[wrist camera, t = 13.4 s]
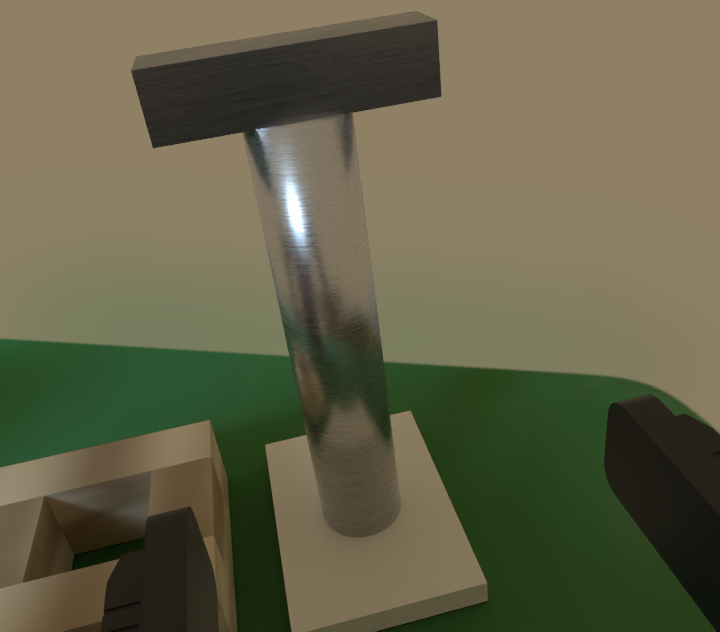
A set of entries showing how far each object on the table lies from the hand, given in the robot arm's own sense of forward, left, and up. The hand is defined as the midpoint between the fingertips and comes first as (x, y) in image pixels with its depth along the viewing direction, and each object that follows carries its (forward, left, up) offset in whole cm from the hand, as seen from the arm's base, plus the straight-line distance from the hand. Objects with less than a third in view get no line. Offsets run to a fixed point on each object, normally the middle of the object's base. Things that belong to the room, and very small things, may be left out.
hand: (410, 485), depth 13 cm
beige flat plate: (0, +11, -13) cm, 17 cm away
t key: (0, +11, -12) cm, 16 cm away
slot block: (-10, +11, -13) cm, 19 cm away
